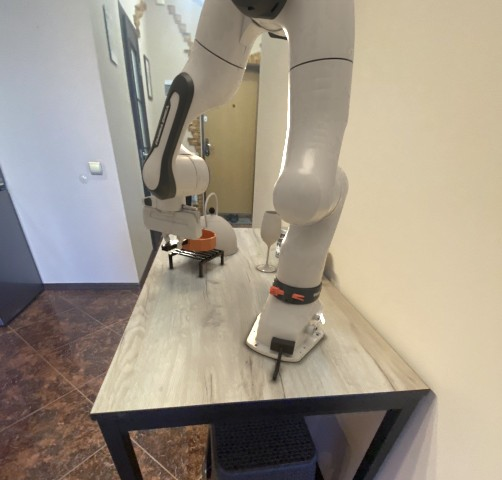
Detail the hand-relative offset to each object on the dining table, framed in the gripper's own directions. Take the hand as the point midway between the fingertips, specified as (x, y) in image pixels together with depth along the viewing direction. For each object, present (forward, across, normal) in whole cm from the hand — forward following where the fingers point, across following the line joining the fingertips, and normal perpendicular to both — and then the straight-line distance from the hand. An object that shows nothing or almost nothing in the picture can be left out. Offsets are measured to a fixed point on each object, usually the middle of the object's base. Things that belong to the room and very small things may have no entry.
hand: (174, 247), depth 93 cm
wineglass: (+10, -23, -27) cm, 37 cm away
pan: (+2, 0, -8) cm, 8 cm away
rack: (+10, 0, -13) cm, 17 cm away
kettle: (+11, +7, -34) cm, 36 cm away
